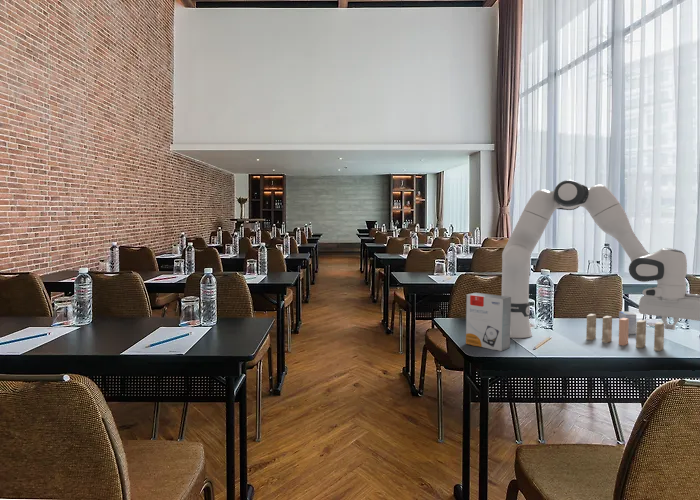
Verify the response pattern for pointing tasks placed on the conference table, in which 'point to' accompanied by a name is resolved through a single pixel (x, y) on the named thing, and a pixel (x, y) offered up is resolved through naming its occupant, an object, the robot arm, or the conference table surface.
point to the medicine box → (631, 320)
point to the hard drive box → (488, 321)
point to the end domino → (659, 336)
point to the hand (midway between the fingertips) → (669, 329)
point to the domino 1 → (591, 327)
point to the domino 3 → (623, 331)
